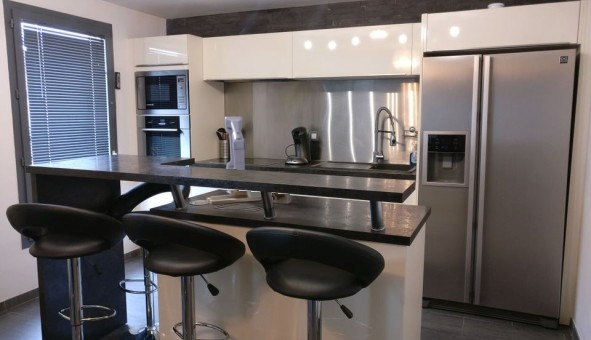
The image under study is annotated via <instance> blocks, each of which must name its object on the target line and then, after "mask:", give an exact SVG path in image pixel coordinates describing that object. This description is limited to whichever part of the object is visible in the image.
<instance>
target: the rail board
mask: <svg viewBox="0 0 591 340" xmlns="http://www.w3.org/2000/svg"><path fill="white" fill-rule="evenodd" d="M206 201H207V202H208V203H209V204H210V205H220V204H230V203H231V204H232V203H234V204H235V203H243V202H254V201H262V200H261V197H254V198H251V197H249V196H248V194H247V197H239V198H234V195H231V194H221V195H212V196H211V195H210V196H209V197H206Z"/></svg>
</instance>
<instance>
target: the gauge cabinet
mask: <svg viewBox="0 0 591 340" xmlns="http://www.w3.org/2000/svg"><path fill="white" fill-rule="evenodd" d="M246 191H247V190H246ZM247 194H248V196H249V197H251V198H254V197H261V194H260V192H251V191H247Z"/></svg>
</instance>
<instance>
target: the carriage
mask: <svg viewBox="0 0 591 340" xmlns="http://www.w3.org/2000/svg"><path fill="white" fill-rule="evenodd" d="M231 194H232V195H234V198H239V197H247V190H246V191H239V190H231ZM231 194H230V195H231Z"/></svg>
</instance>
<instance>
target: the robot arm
mask: <svg viewBox="0 0 591 340" xmlns="http://www.w3.org/2000/svg"><path fill="white" fill-rule="evenodd" d="M243 122H244V121H243V117H242V116H225V117H224V130H225V132H226V133H228V136H229V137H228V138H229V148H230V149H229V150H230V161H229V162H227V163H226V169H237V170H245V171H246V169H245V168H246V167H245V166H246V163H245V160H246V158H245V156H246V155H245V151H246V147H247V146H246V144H247V143H246V139H245V138H244V136H243V133H242V129H243V125H244V124H243ZM226 169H225V170H226ZM225 191H226V193H228V195H232V194H231V190H228V189H227V190H225Z"/></svg>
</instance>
